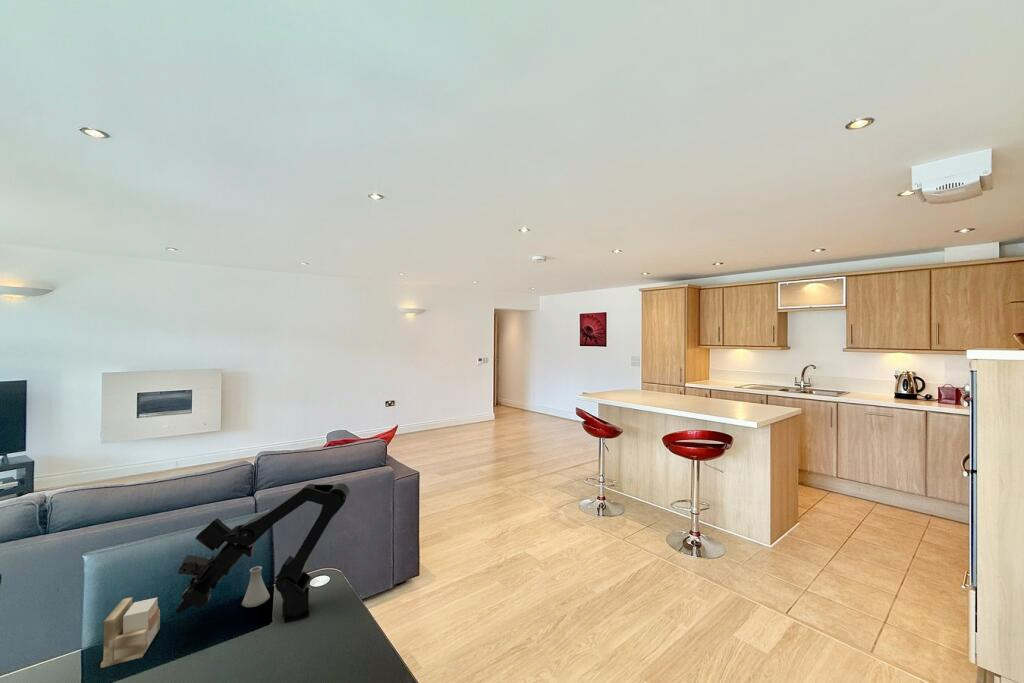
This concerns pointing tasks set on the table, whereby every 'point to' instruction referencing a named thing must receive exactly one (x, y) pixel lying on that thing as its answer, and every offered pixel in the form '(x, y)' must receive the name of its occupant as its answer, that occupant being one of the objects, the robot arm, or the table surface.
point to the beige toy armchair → (123, 637)
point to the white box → (142, 618)
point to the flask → (255, 589)
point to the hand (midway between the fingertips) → (177, 611)
